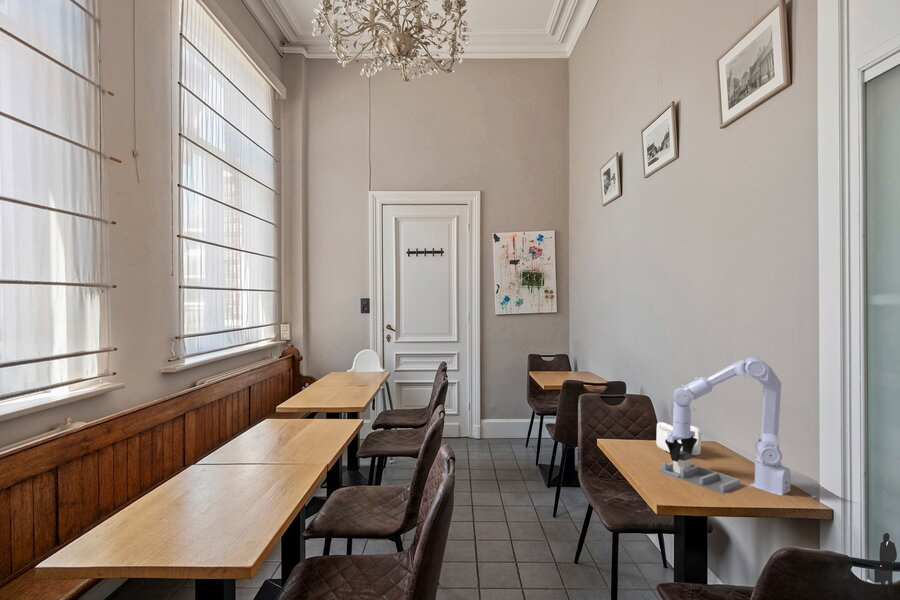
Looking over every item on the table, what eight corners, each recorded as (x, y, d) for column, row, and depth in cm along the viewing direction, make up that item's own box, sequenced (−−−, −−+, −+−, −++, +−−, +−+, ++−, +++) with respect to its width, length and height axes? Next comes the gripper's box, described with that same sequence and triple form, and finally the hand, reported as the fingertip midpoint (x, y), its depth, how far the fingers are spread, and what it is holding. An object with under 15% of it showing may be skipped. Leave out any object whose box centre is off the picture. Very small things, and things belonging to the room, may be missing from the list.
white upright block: (689, 472, 164) (690, 453, 164) (683, 474, 162) (684, 455, 162) (679, 469, 168) (679, 450, 168) (672, 471, 166) (673, 451, 166)
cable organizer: (702, 458, 182) (703, 429, 182) (680, 460, 179) (681, 430, 179) (675, 446, 197) (676, 419, 196) (654, 447, 194) (655, 420, 194)
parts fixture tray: (743, 487, 154) (743, 477, 154) (723, 496, 147) (723, 485, 147) (677, 465, 173) (678, 456, 173) (657, 472, 166) (657, 462, 166)
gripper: (682, 416, 173) (681, 452, 173) (659, 421, 165) (658, 459, 165) (700, 421, 167) (700, 458, 167) (678, 426, 159) (677, 465, 159)
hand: (680, 459), depth 165 cm, fingers open, 7 cm apart
